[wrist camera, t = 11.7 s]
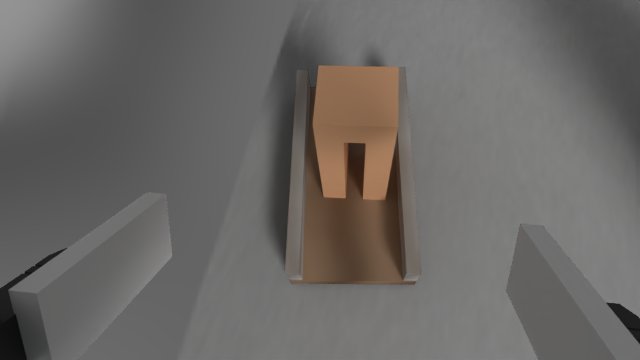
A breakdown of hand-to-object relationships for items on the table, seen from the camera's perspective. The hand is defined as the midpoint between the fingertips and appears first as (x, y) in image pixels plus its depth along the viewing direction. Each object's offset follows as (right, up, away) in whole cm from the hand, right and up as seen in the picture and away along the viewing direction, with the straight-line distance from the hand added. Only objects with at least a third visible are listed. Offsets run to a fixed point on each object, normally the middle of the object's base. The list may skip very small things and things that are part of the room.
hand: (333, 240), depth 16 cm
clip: (+2, +3, +20) cm, 20 cm away
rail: (+2, +2, +21) cm, 21 cm away
